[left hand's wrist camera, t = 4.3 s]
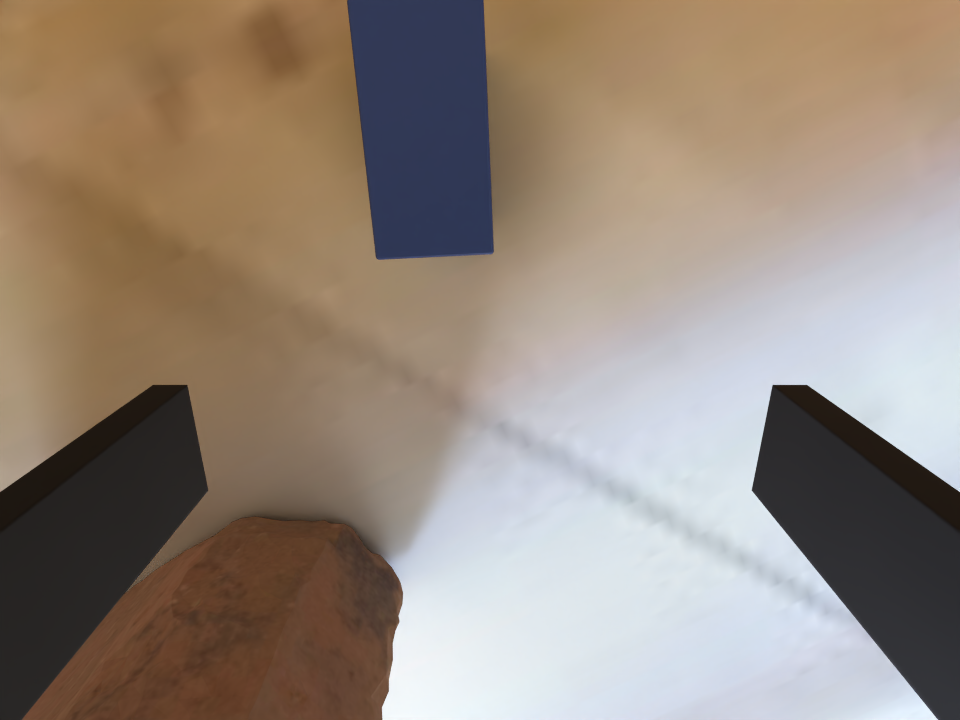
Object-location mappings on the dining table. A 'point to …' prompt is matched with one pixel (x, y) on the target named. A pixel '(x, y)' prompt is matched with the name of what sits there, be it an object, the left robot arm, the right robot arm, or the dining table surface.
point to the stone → (243, 633)
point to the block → (424, 125)
